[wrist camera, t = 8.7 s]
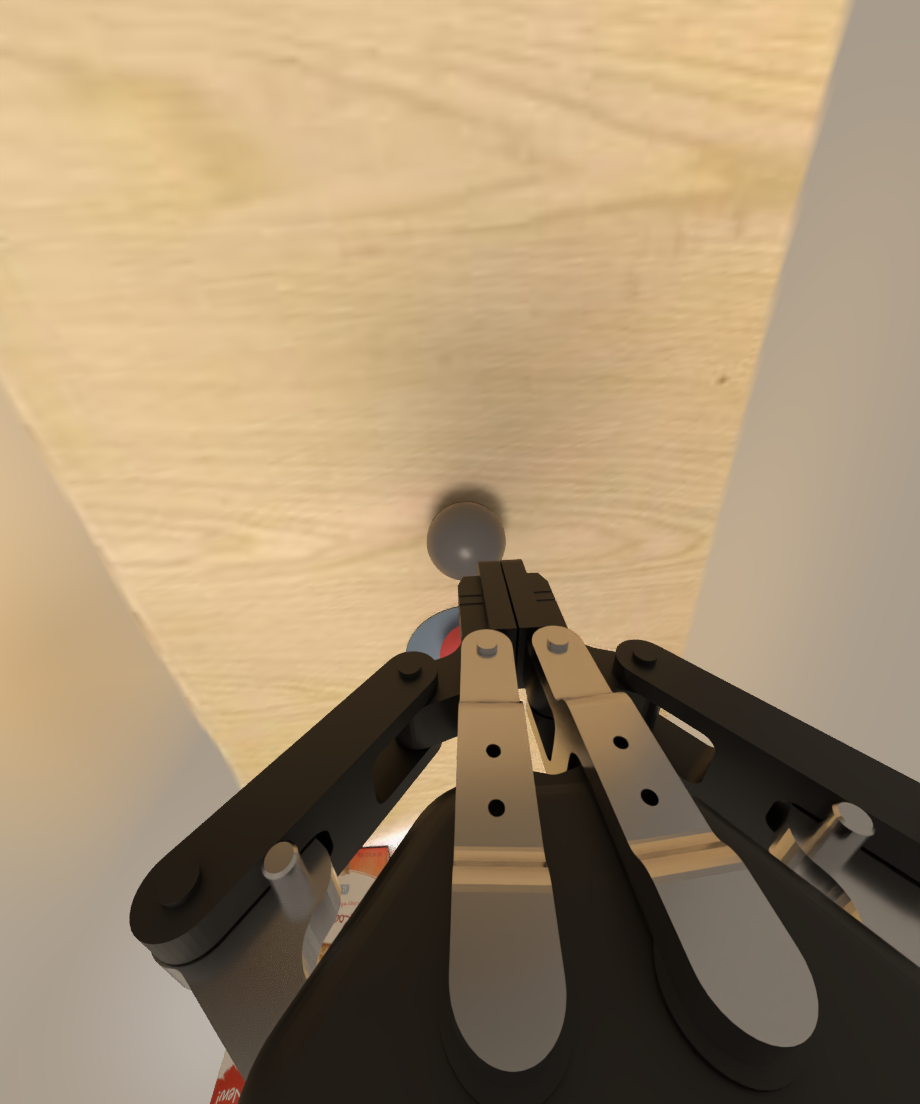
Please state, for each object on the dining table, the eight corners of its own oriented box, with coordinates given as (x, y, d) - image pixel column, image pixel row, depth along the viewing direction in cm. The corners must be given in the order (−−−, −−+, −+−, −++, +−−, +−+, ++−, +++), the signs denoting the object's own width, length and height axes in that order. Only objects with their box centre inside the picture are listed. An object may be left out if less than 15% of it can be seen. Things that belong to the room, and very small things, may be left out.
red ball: (523, 644, 32) (514, 663, 36) (471, 600, 33) (468, 624, 38) (477, 698, 29) (474, 711, 34) (424, 648, 31) (427, 667, 36)
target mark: (561, 651, 38) (561, 653, 38) (471, 716, 42) (471, 718, 42) (470, 581, 33) (470, 582, 33) (379, 661, 37) (378, 663, 37)
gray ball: (527, 554, 26) (516, 536, 31) (470, 489, 25) (468, 482, 30) (463, 608, 26) (463, 581, 32) (405, 548, 25) (414, 530, 31)
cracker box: (388, 843, 54) (364, 1108, 36) (391, 864, 57) (371, 1118, 39) (281, 849, 53) (202, 1122, 35) (290, 870, 56) (222, 1132, 38)
